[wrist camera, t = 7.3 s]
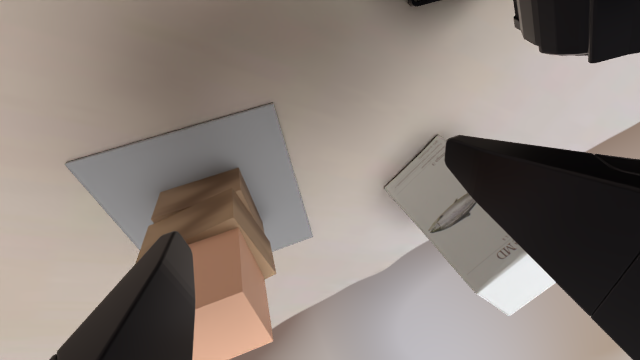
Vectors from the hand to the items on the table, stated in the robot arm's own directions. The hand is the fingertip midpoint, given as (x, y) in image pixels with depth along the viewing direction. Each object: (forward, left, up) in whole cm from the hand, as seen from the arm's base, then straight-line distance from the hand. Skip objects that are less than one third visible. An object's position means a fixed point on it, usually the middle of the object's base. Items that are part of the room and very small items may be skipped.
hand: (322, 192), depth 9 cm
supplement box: (-13, +13, -13) cm, 23 cm away
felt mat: (+7, +8, -13) cm, 17 cm away
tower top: (+7, +8, -9) cm, 14 cm away
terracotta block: (+7, +8, -6) cm, 12 cm away
